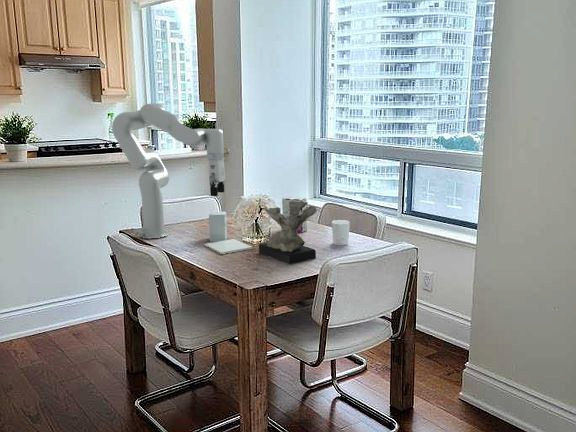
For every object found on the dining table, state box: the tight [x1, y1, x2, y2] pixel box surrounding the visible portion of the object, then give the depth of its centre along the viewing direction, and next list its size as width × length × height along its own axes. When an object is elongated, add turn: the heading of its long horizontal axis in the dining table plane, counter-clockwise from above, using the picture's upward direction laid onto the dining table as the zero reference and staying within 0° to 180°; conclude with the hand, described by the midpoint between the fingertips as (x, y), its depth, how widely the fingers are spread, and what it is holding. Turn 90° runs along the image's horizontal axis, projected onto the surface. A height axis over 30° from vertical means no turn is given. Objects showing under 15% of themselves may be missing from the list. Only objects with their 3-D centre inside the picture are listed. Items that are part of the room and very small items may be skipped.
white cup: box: [331, 219, 351, 246], centre depth 254 cm, size 8×8×10 cm
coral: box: [258, 201, 318, 265], centre depth 239 cm, size 25×20×22 cm
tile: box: [203, 238, 253, 255], centre depth 251 cm, size 15×17×1 cm
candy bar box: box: [281, 196, 308, 234], centre depth 278 cm, size 11×5×16 cm, turn 60°
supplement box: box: [208, 211, 228, 242], centre depth 264 cm, size 7×7×13 cm
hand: (217, 194), depth 261 cm, fingers open, 9 cm apart
